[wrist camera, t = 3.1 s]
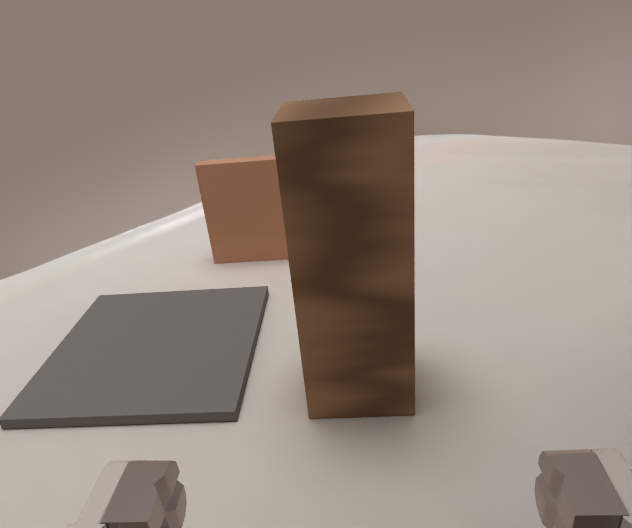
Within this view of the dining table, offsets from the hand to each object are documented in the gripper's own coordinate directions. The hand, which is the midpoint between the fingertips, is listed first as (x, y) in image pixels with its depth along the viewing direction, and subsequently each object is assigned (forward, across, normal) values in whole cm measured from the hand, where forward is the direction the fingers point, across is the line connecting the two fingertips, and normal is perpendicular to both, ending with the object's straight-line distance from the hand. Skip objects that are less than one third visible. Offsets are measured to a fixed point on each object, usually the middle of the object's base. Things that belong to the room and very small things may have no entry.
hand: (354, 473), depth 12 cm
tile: (+28, +6, +8) cm, 30 cm away
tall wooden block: (+12, 0, +8) cm, 15 cm away
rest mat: (+16, +12, +8) cm, 22 cm away
